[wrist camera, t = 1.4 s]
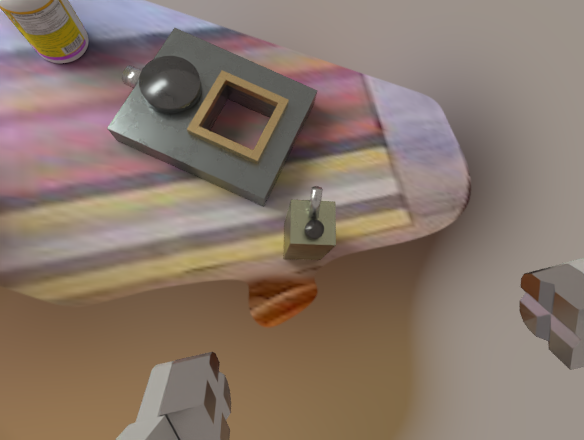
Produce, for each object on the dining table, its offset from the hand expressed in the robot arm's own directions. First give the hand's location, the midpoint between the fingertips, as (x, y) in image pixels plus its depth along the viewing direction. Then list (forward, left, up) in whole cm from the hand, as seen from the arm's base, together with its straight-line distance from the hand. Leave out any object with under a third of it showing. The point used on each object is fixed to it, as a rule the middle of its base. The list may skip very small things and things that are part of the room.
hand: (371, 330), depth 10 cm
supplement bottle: (-41, +21, -34) cm, 57 cm away
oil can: (-2, +10, -33) cm, 35 cm away
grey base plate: (-19, +20, -33) cm, 43 cm away
